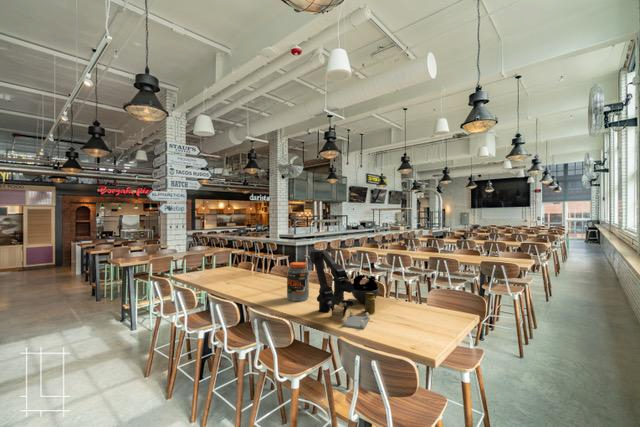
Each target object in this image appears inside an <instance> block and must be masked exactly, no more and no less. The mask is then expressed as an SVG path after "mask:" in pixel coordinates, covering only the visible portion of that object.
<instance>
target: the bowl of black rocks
mask: <svg viewBox="0 0 640 427" xmlns="http://www.w3.org/2000/svg"><path fill="white" fill-rule="evenodd" d="M367 276H368V275H365V274H358V275H355V276H354V278H353V280H352V281H353V283H352V284H353V286H354V290H353V291H352V292H351V295H352V297H353V299H354V300H357V301H358V302H360V303H364V304H365V297H366V293H368V292H371V293H374V298H375V299H376V298H377V297H378V296H379V293H380V287H379V286H378V283H377V282H376V280H375V279H373V278H372V277H369V276H368V277H367ZM366 277H367V279H368V280H367V281H366V282H365V283H361V281H362V280H363V279H364V278H366Z"/></svg>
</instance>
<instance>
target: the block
mask: <svg viewBox="0 0 640 427" xmlns="http://www.w3.org/2000/svg"><path fill="white" fill-rule="evenodd" d="M334 308H335V309H334V310H333V311H332V310H331V320H332V319H334V320H333V321H340V320H341V321H342V319H343V320H344V318H346V315H347V314H346V313H347V312H346V313H345V316H343V313H344V307H340V306H335V307H334ZM341 321H340V322H341Z"/></svg>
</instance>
